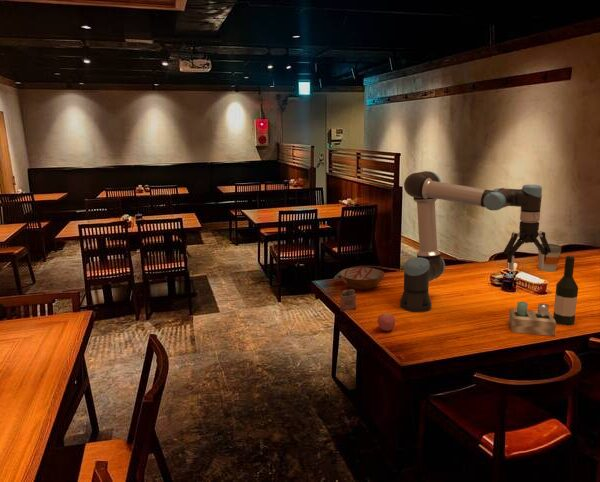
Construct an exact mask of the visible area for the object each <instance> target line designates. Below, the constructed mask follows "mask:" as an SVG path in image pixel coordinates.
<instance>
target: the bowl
mask: <svg viewBox="0 0 600 482" xmlns="http://www.w3.org/2000/svg"><path fill="white" fill-rule="evenodd" d="M338 274H339V276H340V278H341V280H342V281H343V282H344V284H346V285H347V286H348V287H350V288H352V289H354V290H357V289H362V290H363V289H367V290H371V289H372V288H374V287H376V286H377V285H378V284H380V283H381V281H382V280H383V279H384V276H385V274H386V273H385V272H384V271H383V270H381V269H379V268H373V267H366V266H365V267H364V266H361V267H360V266H357V267H349V268H345V269H341V270H340V271H339V272H338ZM362 290H361V291H362ZM363 291H364V290H363Z"/></svg>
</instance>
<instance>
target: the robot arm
mask: <svg viewBox="0 0 600 482" xmlns="http://www.w3.org/2000/svg"><path fill="white" fill-rule="evenodd" d="M403 183H404V184H403V189H404V191H405V193H406V194H407V195H408V196H410V197H413V201H414V203H416V209H417V212H416V213H417V226H418V227H417V228H418V244H419V250H418V252H417V253H416V257H412V258H409V259H407V260H406V261H404V267H403V277H404V278H403V292H402V295H401V297H400V299H399V307H400V309H403V310H405V311H408V312H413V313H423V312H428V311H430V310H432V307H433V306H432V299H431V297H430V293H429V286H430V283H429V282H431V281H434V280H436V279H439V278H440V276H441V275H443V273H444V271H445V269H446V263H445V260H444V258H442V254H441V252H440V251H439V249H438V239H437V238H438V236H437V234H438V233H437V220H436V216H437V215H436V201H437V200H442V201H443V200H444V201H449V202H453V203H459V204H464V205H465V204H466V205H469V206H470V205H471V206H476V207H481V208H485V209H487V210H489V211H499V210H501V209H503V208H506V207H519V208H520V215H519V220H520V221H519V232H514V231H513V232H511V237H510V239H509V241H508V243H507V244H506V246H505V248H504V250H503V254H505V255H507V260H506V261H507V263H508V267H507V269H508V270H509V271H511V272H512V271H514V266H515V265H514V264H515V255H514V254H515V253H516V252H517V251H518V250H519V249H520V247H521V246H522V245H524V244H529V243H533V244H534V245H535V246H536V248H537V250H538V249H539V250H540V252H541V253H542V254H541V253H539V252H538V254H539V261H538V260H537V261H538V262H537V268H538V269H539V268H540V269H543V266H544V261H545V260H546V255H547V254H548V253H550V252H551V250H550V247H549V245H548V244H549V243H548V241H547V238H546V237H547V236H546V232H545V231H542V230H541V231H539V230H540V217H541V206H542V197H543V187H542V186H541V185H540V184H524V185H522V188H521V189H520V188H519V189H518V188H517V189H516V188H506V187H505V188H504V187H500V188H499V187H497V188H494V189H493V190H492V189H486V188H485V189H484V188H480V187H473V186H467V185H460V184H454V183H453V184H452V183H449V182H448V183H447V182H443V181H441V178H440V177H439V175H438V174H437V173H435V172H434V171H429V170H428V171H427V170H424V171H420V172H419V171H418V172H414V173H413V172H412V173H411V174H409V175H408V176H407V177H406V178H405V179H404V182H403ZM538 237H539V239H540V241H541V242H540V241H539V239H538ZM541 244H543V247H544V248H543V247H542V245H541ZM540 269H539V270H540Z"/></svg>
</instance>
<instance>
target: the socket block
mask: <svg viewBox="0 0 600 482" xmlns="http://www.w3.org/2000/svg"><path fill="white" fill-rule="evenodd" d="M537 312H538V310H529V309H527V317H521V316H516V314H517V308H516V309H515V308H509V314H508V316H509V317H508V323H509V326H510V329H511V332H512V333H515V334H516V333H518V334H519V333H520V334H528V335H540V336H548V337H549V336H550V337H555V336H556V329H557V328H556V325H557V323H556V321H555V320H554V318H553V315H552V313H551V311H548V319H545V318H537Z"/></svg>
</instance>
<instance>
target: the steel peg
mask: <svg viewBox="0 0 600 482" xmlns="http://www.w3.org/2000/svg"><path fill="white" fill-rule="evenodd" d="M549 308H550V305H549V304H548V303H542V302H541V303H538V304H537V311H538V312H537V318H545V319H548V312H549Z"/></svg>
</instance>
